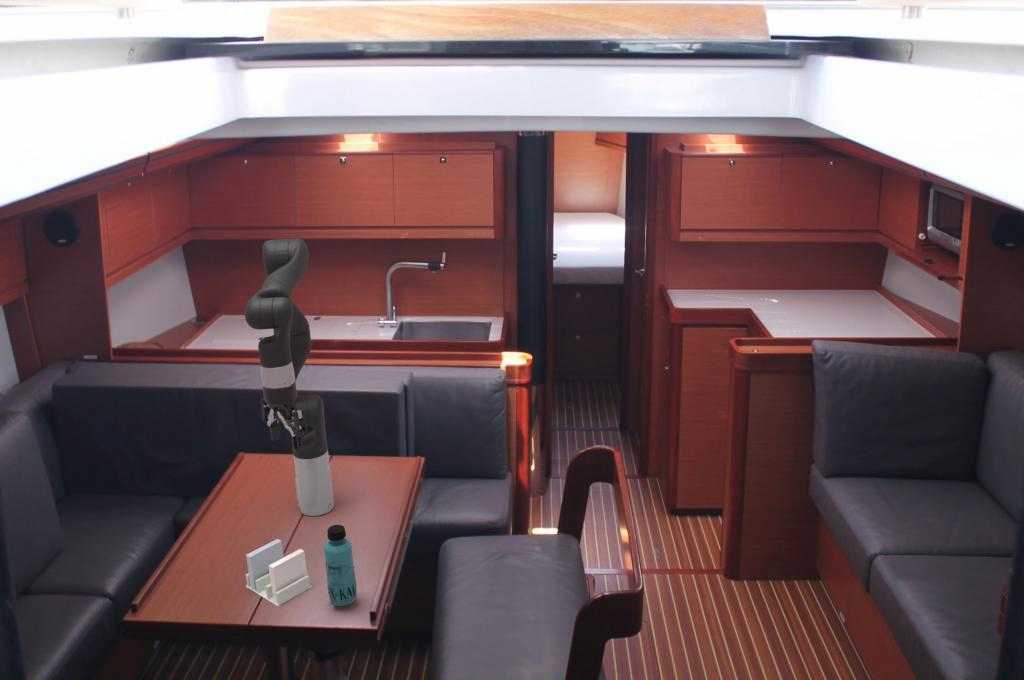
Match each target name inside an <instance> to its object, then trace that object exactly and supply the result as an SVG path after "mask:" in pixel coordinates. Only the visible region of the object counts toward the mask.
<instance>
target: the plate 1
mask: <svg viewBox="0 0 1024 680" xmlns="http://www.w3.org/2000/svg"><path fill="white" fill-rule="evenodd" d="M245 556H246V563H247V569H248V570H247V571H248V573H249V578H250V584H251V588H252V589H254V590H256V582H255V580H257V579H259V578H261V577H262V576H264V575H266V574H268V573H269V565H271V564H272V563H274V562H276V561H278V560H280V559H282V558H284V557H285V554H284V547H283V541H282V540H281V539H279V538H276V539H275V540H273V541H270V542H269V543H267V544H264V545H263V546H261V547H259V548H257V549H254V550H253V551H251V552H249V553H247V554H245Z"/></svg>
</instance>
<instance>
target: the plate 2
mask: <svg viewBox="0 0 1024 680" xmlns="http://www.w3.org/2000/svg"><path fill="white" fill-rule="evenodd" d="M305 553H306V552H305V550H303V549H302V548H298V549H297V550H295V551H294V552H292V553H289V554H288V555H286V556H284V558H282V559H280V560H278V561H276V562H274V563H272V564H271V565H269V573H270V580H271V587H272V593H273V599H274V600H276V592H277V591H279V590H281V589H283V588H285V587H286V586H288V585H290V584H292V583H294V582H295V581H297V580H299V579H301V578H303V577H305V576H306V575H308V568H307V561H306V555H305ZM276 601H277V600H276Z"/></svg>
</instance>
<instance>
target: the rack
mask: <svg viewBox="0 0 1024 680" xmlns="http://www.w3.org/2000/svg"><path fill="white" fill-rule="evenodd" d="M245 580H246V585H245V587H246V588H247V589H248V590H250V591H251V592H254V593H256V594H257V595H259V596H260V597H261V598H263V599H265V600H267V601H269V602H270V603H271V604H273V605H275V606H276V607H279V606H280V605H282V604H284V603H286V602H288V601H289V600H291V599H293V598H294V597H297V596H299V595H301V594H302V593H304V592H306V591H307V590H309V589H311V588H312V587H313V585H311V580H310V576H309V575H308V574H307V575H306V576H305V577H303V578H301V579H299V580H297V581H295V582H294V583H292V584H290V585H288V586H286V587H285V588H283V589H281V590H279V591H277V592H276V600H277V601H276V600H274V599H273V593H272V587H271V580H270V573H268V574H266V575H264V576H262V577H261V578H259V579H257V580H255V582H256V590H254V589H252V588H251V584H250V578H249V572H248V573H245Z"/></svg>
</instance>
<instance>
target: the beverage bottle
mask: <svg viewBox="0 0 1024 680" xmlns="http://www.w3.org/2000/svg"><path fill="white" fill-rule="evenodd" d="M326 532H327V539H328V540H327V541H326V543H324V545H323V550H324V559H325V569H326V570H325V572H326V580H327V590H328V596H329V601H330V602H331V604H333V605H335V606H341V607H342V606H347V605H350V604H352V603H353V602H354V601H355V600H356V599H357V596H358V590H357V579H356V572H355V565H354V555H353V549H352V548H353V547H352V546H353V544H352V541H351V540H350V539H348V538H346V537H347V533H346V529H345V526H344V525H341V524H334V525H331V526H329V527H328V528H327V531H326Z"/></svg>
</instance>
